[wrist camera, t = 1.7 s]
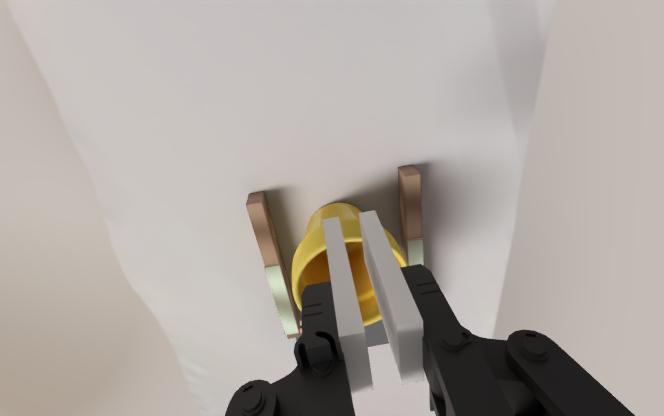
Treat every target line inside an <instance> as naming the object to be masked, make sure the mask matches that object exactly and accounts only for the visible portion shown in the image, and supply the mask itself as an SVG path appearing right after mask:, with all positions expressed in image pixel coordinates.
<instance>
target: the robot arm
mask: <svg viewBox="0 0 664 416" xmlns="http://www.w3.org/2000/svg"><path fill="white" fill-rule="evenodd" d="M359 220H360V228H361V235H362V243H363V251H364V259H365V263H366V266H367V270H368V273H369V276H370V280H371V283H372V287H373V290H374V293H375V297H376V300H377V303H378V307H379V310H380V314H381V317H382V320H383V324H384V327H385V330H386V334H387V337H388V341H389V344H390V347H391V351H392V354H393V357H394V361H395V364H396V367H397V371H398V374H399V378H400V381H401V384H407V383H412V382H418V381H423V380H425V378H424V372H425V374H426V377H427V380H428V382H429V385H430V411H435V414H436V416H635V415H634V414H633V413H631V412H630V411H629V410H628V409H627V408H626V407H625V406H624V405H623V404H622V403H621V402H619V401H618V400H617V399H616V398H615V397H614V396H613V395H612V394H611V393H610V392H608V391H607V390H606V389H605V388H604V387H603V386H602V385H601V384H600V383H599V382H598V381H596V380H595V379H594V378H593V377H592V376H591V375H590V374H589V373H587V371H585V370H584V369H583V368H582V367H581V366H580V365H579V364H578V363H577V362H576V361H574V359H572V358H571V357H570V356H569V355H568V354H567V353H566V352H565V351H564V350H562V349H561V348H560V347H559V346H558V345H557V344H556V343H555V342H554V341H552V340H551V339H550V338H548V337H547V336H545V335H543V334H541V333H538V332H536V331H530V330H520V331H515V332H514V333H512V334H511V335H509V337H508V340H507V341H506V340H496V339H487V338H482V337H478V336H476V335H473V334H472V333H471V332H470V331H469V330H467V329H466V328H464V327H463V326H461V325H460V323H459V322H458V320H457V318H456V316H455V315H454V313H453V311H452V309H451V307H450V306H449V304H448V302H447V300H446V298H445V297H444V295H443V293H442V292H441V289H440V288H439V286H438V284H437V283H436V280H435V278H434V277H433V275H432V273H431V271H429V270H428V269H427V268H425V267H424V266H423V265H422V264H417V265H411V266H406V267H399V264H398V262H397V260H396V257H395V255H394V253H393V250H392V248H391V246H390V244H389V241H388V239H387V237H386V234H385V232H384V230H383V227H382V225H381V223H380V221H379V218H378V216H377V214H376V211H375V210H373V211H367V212H362V213H359ZM322 221H323V228H324V235H325V242H326V249H327V256H328V264H329V271H330V278H331V281H328V282H322V283H316V284H311V285H306V287H305V289H304V291H303V293H302V295H301V307H302V335H301V336H300V337H299V339H298V340H297V342H296V343H295V347H294V355H295V358H296V361H297V364H298V366H297V367H296V368H295V369H294V370H293V371H292V372H291V373H290V374H289V375H287V376H286V377H284V378H282V379H280V380H278V381H276V382H274V383H272V384H270V383H269V382H267V381H264V380H254V381H250V382H248V383H246V384H245V385H243V386H241V387H240V388H239V389H238V390H237V391H236V392H235V393H234V395H233V397H232V399H231V401H230V403H229V405H228V408H227V411H226V414H225V416H355V412H354V407H353V402H352V396H351V394H353V393H359V392H364V391H369V390H373V383H372V376H371V369H370V362H369V355H368V349H367V342H366V335H365V329H364V325H363V321H362V316H361V312H360V308H359V303H358V299H357V294H356V290H355V286H354V281H353V277H352V273H351V268H350V264H349V259H348V255H347V251H346V246H345V242H344V238H343V233H342V229H341V224H340V220H339V217H334V218H328V219H323V220H322Z"/></svg>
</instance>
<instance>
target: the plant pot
mask: <svg viewBox="0 0 664 416" xmlns="http://www.w3.org/2000/svg"><path fill="white" fill-rule="evenodd" d="M359 213H362V211H361V210H360V209H358V208H357V207H355V206H353V205H351V204H347V203H333V204H329V205H326V206H324V207H322V208H320V209H319V210H318V211H317V212H316V213H315V214H314V215H313V216H312V218H311V219H310V222H309V224H308V228H307V232H306V235H305V238H304V239H303V240H302V242H301V243H300V244H299V246H298V248H297V250H296V252H295V255H294V258H293V263H292V292H293V297H294V300H295V302H296V304H297V306H298V308H299V309H300V310H301V312H302V307H301V295H302V293H303V291H304V289H305V287H306V285H311V284H316V283H322V282H328V281H331V278H330V271H329V264H328V256H327V249H326V242H325V235H324V228H323V221H322V220H323V219H328V218H334V217H339V220H340V224H341V229H342V233H343V238H344V242H345V246H346V251H347V255H348V259H349V264H350V268H351V273H352V277H353V281H354V286H355V290H356V294H357V299H358V303H359V308H360V312H361V316H362V321H363V325H364V326H367V325H370V324H372V323H375V322H377V321H379V320H381V319H382V317H381V314H380V310H379V307H378V303H377V300H376V297H375V293H374V290H373V287H372V283H371V280H370V276H369V273H368V270H367V266H366V263H365V259H364V251H363V243H362V235H361V228H360V220H359ZM383 230H384V232H385V234H386V237H387V239H388V241H389V244H390V246H391V248H392V250H393V253H394V255H395V257H396V260H397V262H398V264H399V267H406V266H408V265H407V262H406V260H405V258H404V255H403V253H402V251H401V249H400V248H399V246H398V244H397V242H396V241H395V239H394V238H393V236H392V235H391V234H390V233H389V232H388V231H387V230H386V229H385V228H383Z"/></svg>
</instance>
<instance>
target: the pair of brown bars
mask: <svg viewBox="0 0 664 416" xmlns="http://www.w3.org/2000/svg"><path fill="white" fill-rule="evenodd" d="M398 175H399V193H400V211H401V229H402V247H403V255H404V258H405V260H406V262H407V265H408V266H411V265H417V264H422V265H423V266H424V262H423V239H422V229H421V181H420V173H419V172H418V171H417V170H416V169H415V167H414V166H413V165H409V166H403V167H398ZM246 207H247V210H248V213H249V217H250V220H251V223H252V226H253V229H254V233H255V236H256V239H257V242H258V245H259V248H260V252H261V255H262V258H263V261H264V264H265V267H264V268H265V272H266V275H267V278H268V281H269V284H270V287H271V290H272V294H273V297H274V300H275V303H276V306H277V309H278V312H279V316H280V319H281V322H282V325H283V328H284V331H285V335H287V337H288V339H289V338H295V337H300V320H299V317H298V313H297V309H296V306H295V302H294V299H293V295H292V291H291V288H290V284H289V281H288V277H287V274H286V270H285V266H284V263H283V259H282V256H281V252H280V248H279V245H278V241H277V238H276V234H275V230H274V227H273V223H272V220H271V216H270V213H269V209H268V205H267V202H266V198H265V195H264V191H262V192H256V193H251V194H249V196H248V200H247V203H246Z"/></svg>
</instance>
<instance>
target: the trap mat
mask: <svg viewBox="0 0 664 416" xmlns="http://www.w3.org/2000/svg"><path fill="white" fill-rule="evenodd" d="M364 329H365V335H366V342H367V347H370V346H376V345H381V344H387V343H389V341H388V337H387V334H386V330H385V327H384V324H383V320H382V319H381V320H379V321H377V322H375V323H372V324H370V325H367V326H364ZM301 335H302V326H300V336H301ZM296 339H297V340H298V339H299V337H296Z"/></svg>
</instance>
